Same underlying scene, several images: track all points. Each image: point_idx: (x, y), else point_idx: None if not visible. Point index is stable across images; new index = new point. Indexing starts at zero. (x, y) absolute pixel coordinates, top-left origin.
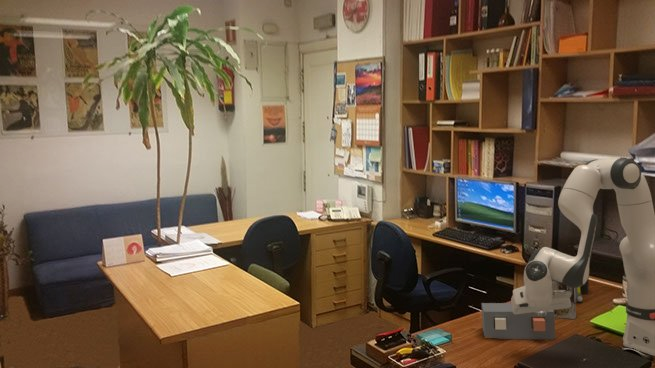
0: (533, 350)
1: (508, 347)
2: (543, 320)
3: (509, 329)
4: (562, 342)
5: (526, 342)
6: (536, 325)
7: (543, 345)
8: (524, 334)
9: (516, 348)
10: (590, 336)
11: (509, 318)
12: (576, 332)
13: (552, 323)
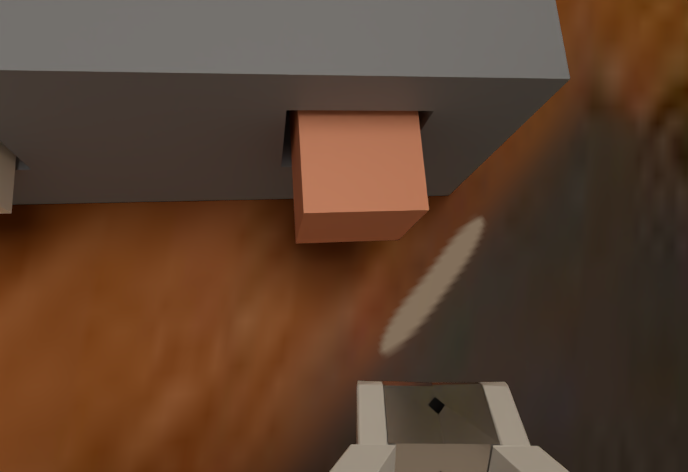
0: (256, 441)
1: (43, 396)
2: (411, 194)
3: (62, 171)
4: (495, 248)
5: (223, 267)
6: (324, 226)
7: (351, 320)
8: (215, 187)
9: (114, 412)
10: (677, 130)
11: (15, 117)
12: (596, 62)
13: (484, 141)
